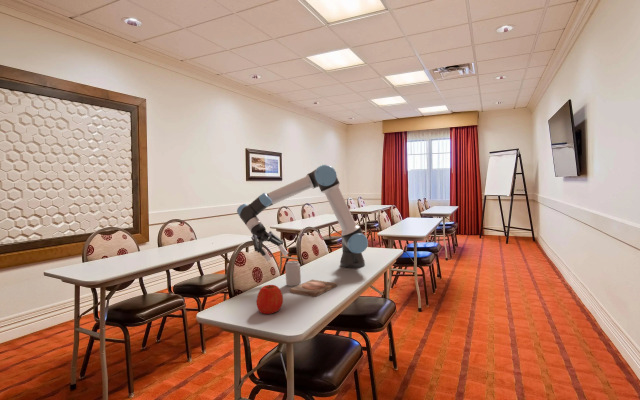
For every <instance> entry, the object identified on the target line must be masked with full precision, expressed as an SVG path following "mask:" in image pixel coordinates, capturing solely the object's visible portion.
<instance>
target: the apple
mask: <svg viewBox="0 0 640 400" xmlns="http://www.w3.org/2000/svg"><path fill="white" fill-rule="evenodd" d="M283 303H284V297H283V293H282V291H281V288H279V287H278V286H277V285H274V284H267V285H264V286H262V287H261V288H260V289H259V291H258V293H257V297H256V307H257V310H258V311H259V312H260V314H264V315H270V314H273V313H277V312H278V311H279V310H280V309H281V307H282V306H283Z"/></svg>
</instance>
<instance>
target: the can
mask: <svg viewBox="0 0 640 400" xmlns="http://www.w3.org/2000/svg"><path fill="white" fill-rule="evenodd" d="M284 270H285V284H286V285H287V287H290V288H293V287H296V286H298V285H300V284H302V280H301V277H302V276H301V275H302V274H301V264H300V263H299V261H298V260H288V261H286V262H285V269H284Z"/></svg>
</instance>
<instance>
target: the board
mask: <svg viewBox="0 0 640 400" xmlns="http://www.w3.org/2000/svg"><path fill="white" fill-rule="evenodd" d="M337 286H338V282H331V281H325V280H318V279H309V280H308V281H305V282H302V283H300V284H299V285H298V286H295V287H290V288H289V292H290V293H293V294H299V295H304V296H310V297H318V296H320V295H321V294H324V293H326V292H328V291H330V290H331V289H335V288H336V287H337Z"/></svg>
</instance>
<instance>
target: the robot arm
mask: <svg viewBox="0 0 640 400" xmlns="http://www.w3.org/2000/svg"><path fill="white" fill-rule="evenodd" d="M337 175H338V174H337V172H336V170H335V168H334V167H333V166H331V165H329V164H322V165H320V166H318V167H316V168H315V169H314V170H313V171H310V172H309V173H307V174H306V176H304V177H302V178H299V179H296V180H294V181H293V182H290V183H288V184H285V185H284V186H281V187H279V188H276V189H274V190H272V191H270V192H268V193H266V192H263V193H261V194H260V195H259V196H258V197H256V198H255V199H254V200H253V201H252V202H251V203H249V204H248V203H243V204H241V205H239V206H238V207H237V209H236V213H237V214H238V216H239V218H240V219H241V221H242V222H243V223H244V225H245V226H246V228H247V229H248V230H249V232H250V233H251V234H252V236H251V237H250V238H251V240H252V244H253V248H254V252H257V253H258V254H259V253H260V255H261V256H262V257H263V258H264V259H265V261H266V262H268V263H269V261H270V260H271V256H270V254H269V253H268V251H266V249H265V248H263V242H264V243H265V242H267V243H268V242H269V243H271V244H274V245H275V246H277V248H278V249H279V250H280V252H281V254H282V255H283V256H284V257H287V255H288V254H289V252H288V250H286V248H285V246H284V245H283V244H284V240H282V239H281V238H280V237H278V236H277V235H276V234H274V233H273V232H272V231H271V230H270V231H267V230H266V227H265V226H264V224H263V223H262V221H261V220H260V219H259V217H258V215H259V214H260V213H262V212H263V211H264V210H266V209H267V208H270V207H271V206H273V205H276V204H278V203H280V202H282V201H284V200H287V199H289V198H292V197H294V196H296V195H299V194H301V193H303V192H305V191H308V190H309V189H316V188H319V191H320V192H321V193H323V194H324V195H325V197H326V199H327V201H328V203H329V205H330V207H331V209H332V211H333V214H334V216H335V218H336V220H337V222H338V224H339V226H340V228H341V242H342V244H341V245H342V246H341V247H342V248H341V249H342V254H341V258H340V262H339V266H340V265H341V268H347V269H348V268H349V269H353V268H361V267H364V266H366V261H365V259H364V256H363V252H365V251H366V249H367V248H368V246H369V241H368V240H369V239H368V238H367V236H366V235H365V234H364V232H363V229H362V228H361V226H360V225H359V224H356V221H355V219H354V218H353V214H352V213H351V211H350V209H349V207H348V206H349V205H348V204H347V202H346V200H345V198H344V195H343V194H342V191H341V189H340V181H339V178H338V176H337Z"/></svg>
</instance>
